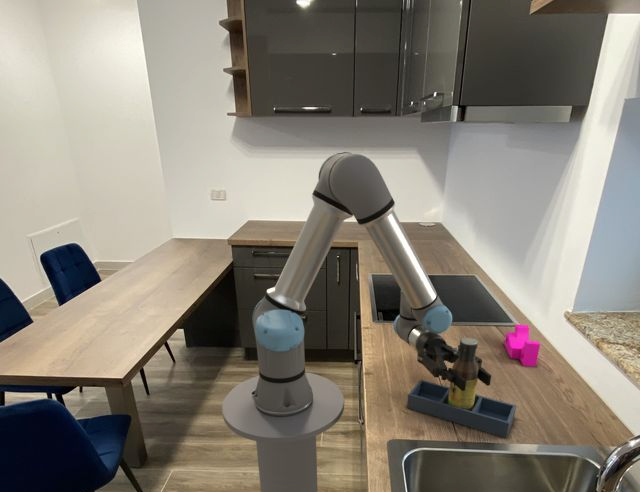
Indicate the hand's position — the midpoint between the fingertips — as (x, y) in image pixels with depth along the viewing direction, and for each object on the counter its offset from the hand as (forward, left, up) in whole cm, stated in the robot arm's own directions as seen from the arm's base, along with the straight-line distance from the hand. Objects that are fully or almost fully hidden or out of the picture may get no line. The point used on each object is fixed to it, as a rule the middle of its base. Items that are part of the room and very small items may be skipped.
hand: (476, 383), depth 104 cm
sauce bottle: (-4, +3, -11) cm, 12 cm away
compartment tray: (-4, +3, -12) cm, 13 cm away
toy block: (+3, +46, -12) cm, 47 cm away
